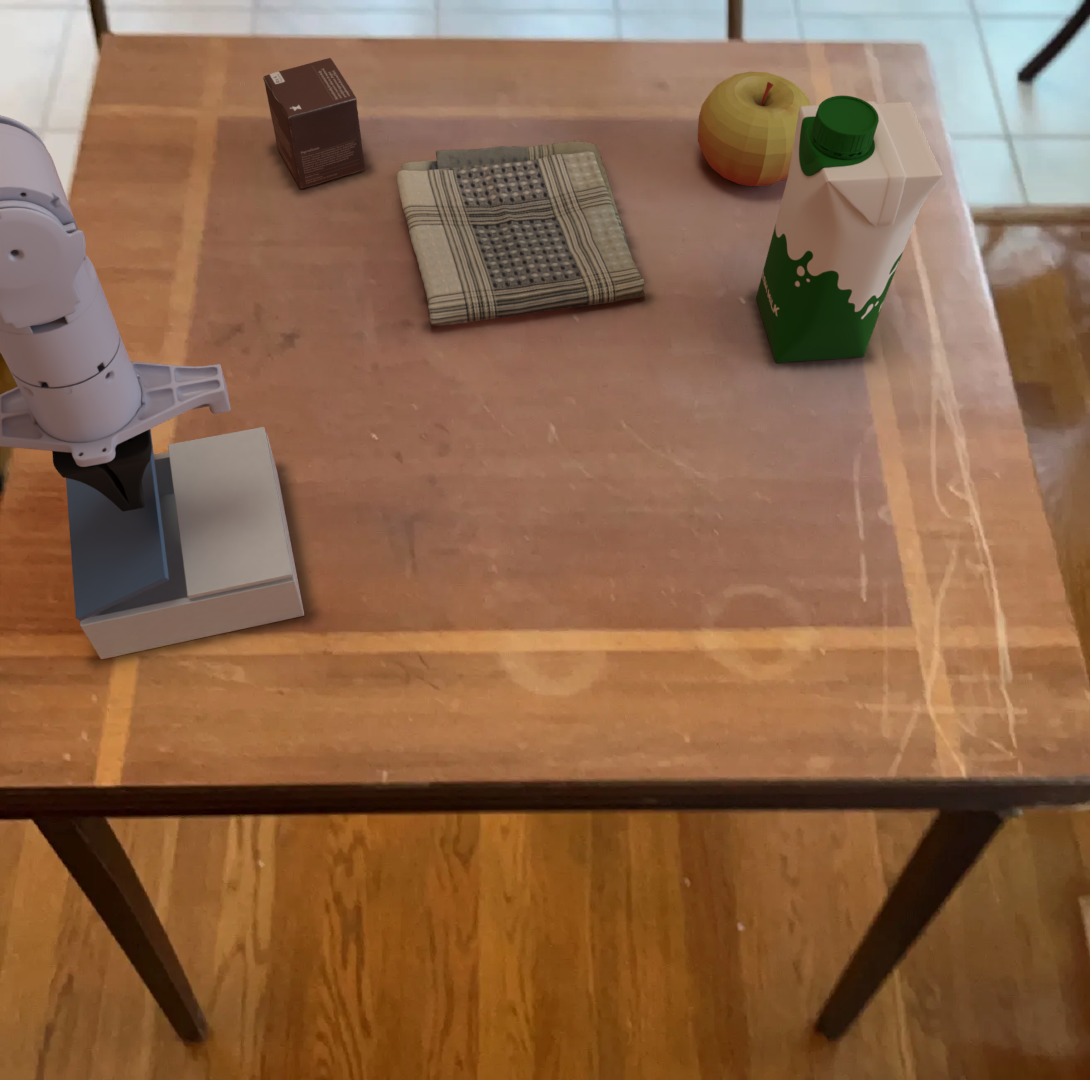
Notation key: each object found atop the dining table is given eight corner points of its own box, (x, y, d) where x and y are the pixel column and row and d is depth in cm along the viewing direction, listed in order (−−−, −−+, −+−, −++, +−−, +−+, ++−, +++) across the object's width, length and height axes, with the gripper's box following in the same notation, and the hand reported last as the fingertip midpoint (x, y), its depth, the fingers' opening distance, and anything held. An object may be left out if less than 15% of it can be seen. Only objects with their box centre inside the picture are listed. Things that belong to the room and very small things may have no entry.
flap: (80, 621, 71) (75, 619, 70) (68, 466, 77) (64, 463, 76) (169, 579, 70) (165, 577, 69) (150, 425, 76) (146, 422, 75)
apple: (802, 134, 105) (823, 55, 98) (806, 209, 100) (828, 131, 93) (693, 124, 105) (707, 45, 99) (691, 198, 100) (705, 120, 93)
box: (366, 172, 100) (358, 99, 94) (299, 191, 99) (286, 118, 93) (341, 129, 103) (331, 55, 97) (275, 147, 102) (261, 73, 95)
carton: (100, 659, 75) (76, 619, 70) (88, 508, 81) (64, 462, 76) (304, 616, 77) (293, 574, 73) (277, 472, 83) (265, 425, 79)
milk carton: (742, 290, 94) (796, 73, 78) (850, 283, 95) (927, 67, 79) (766, 373, 90) (829, 161, 73) (880, 365, 91) (968, 154, 74)
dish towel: (650, 304, 93) (655, 274, 91) (427, 335, 91) (425, 305, 88) (594, 151, 103) (597, 120, 100) (391, 175, 100) (388, 144, 98)
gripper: (-88, 432, 57) (9, 576, 68) (215, 378, 59) (260, 525, 71) (-87, 327, 60) (6, 480, 72) (199, 280, 63) (244, 435, 74)
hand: (131, 496), depth 72 cm, fingers closed
